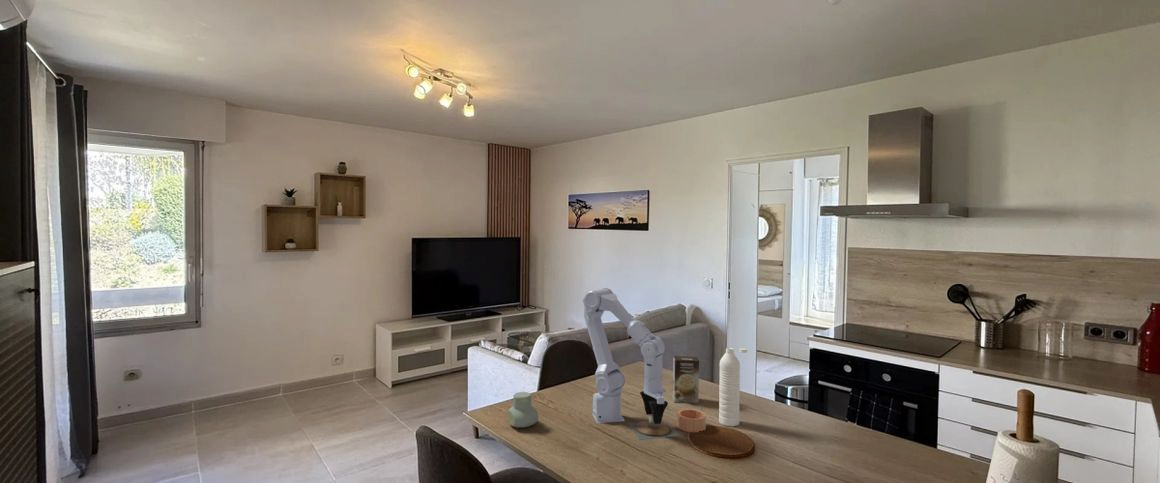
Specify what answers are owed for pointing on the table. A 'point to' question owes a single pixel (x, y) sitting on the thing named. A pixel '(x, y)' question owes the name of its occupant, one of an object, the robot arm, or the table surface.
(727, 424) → the water bottle
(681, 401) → the coffee box
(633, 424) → the mat
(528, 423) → the air freshener
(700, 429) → the bowl
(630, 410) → the table surface
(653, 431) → the lid
